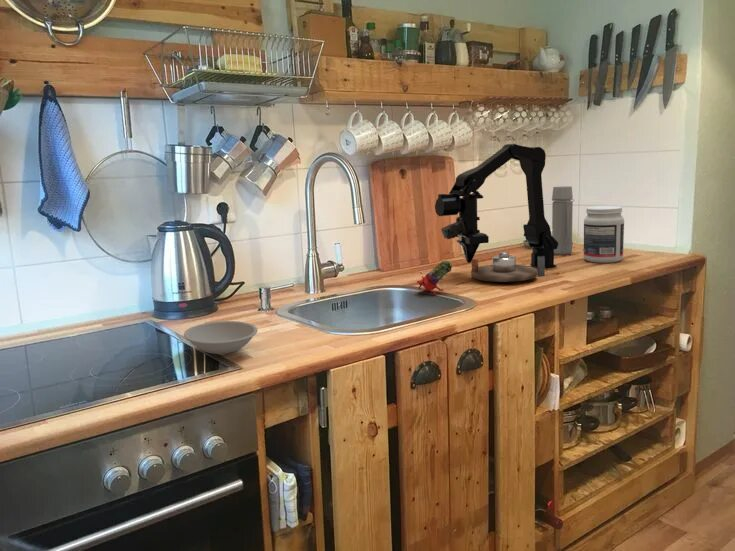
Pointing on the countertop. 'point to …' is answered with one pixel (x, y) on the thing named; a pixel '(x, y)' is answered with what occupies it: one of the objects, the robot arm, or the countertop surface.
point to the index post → (541, 265)
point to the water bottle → (562, 219)
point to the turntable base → (503, 282)
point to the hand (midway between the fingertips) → (468, 262)
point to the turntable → (502, 273)
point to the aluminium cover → (504, 262)
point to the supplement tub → (603, 234)
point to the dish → (221, 336)
